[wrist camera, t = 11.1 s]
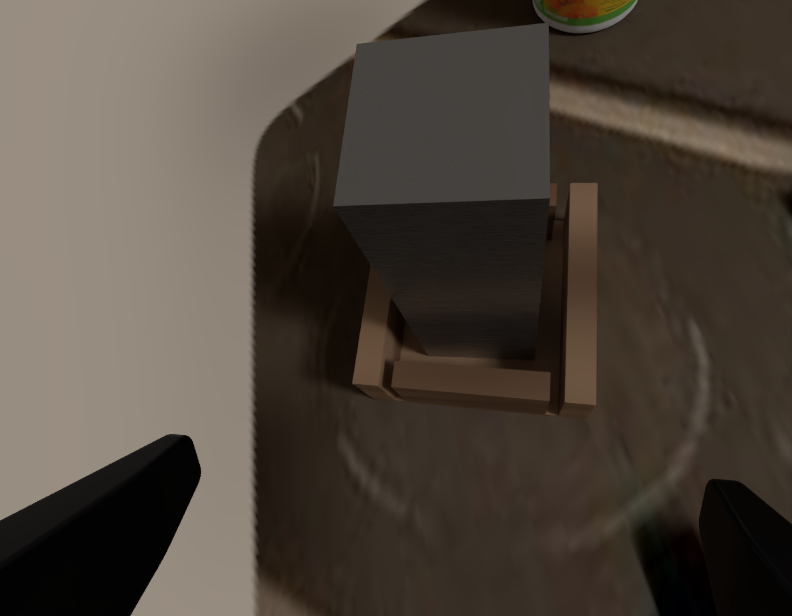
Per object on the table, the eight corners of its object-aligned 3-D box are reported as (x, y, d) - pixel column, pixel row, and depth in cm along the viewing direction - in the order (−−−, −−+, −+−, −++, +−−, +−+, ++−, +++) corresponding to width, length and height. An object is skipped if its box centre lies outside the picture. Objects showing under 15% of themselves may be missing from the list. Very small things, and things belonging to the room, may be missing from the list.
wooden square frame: (583, 420, 21) (596, 404, 18) (375, 400, 23) (352, 383, 20) (586, 227, 24) (597, 182, 20) (400, 225, 26) (383, 184, 22)
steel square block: (534, 359, 22) (550, 198, 10) (428, 356, 23) (333, 206, 11) (534, 261, 23) (548, 22, 12) (435, 262, 24) (356, 44, 13)
